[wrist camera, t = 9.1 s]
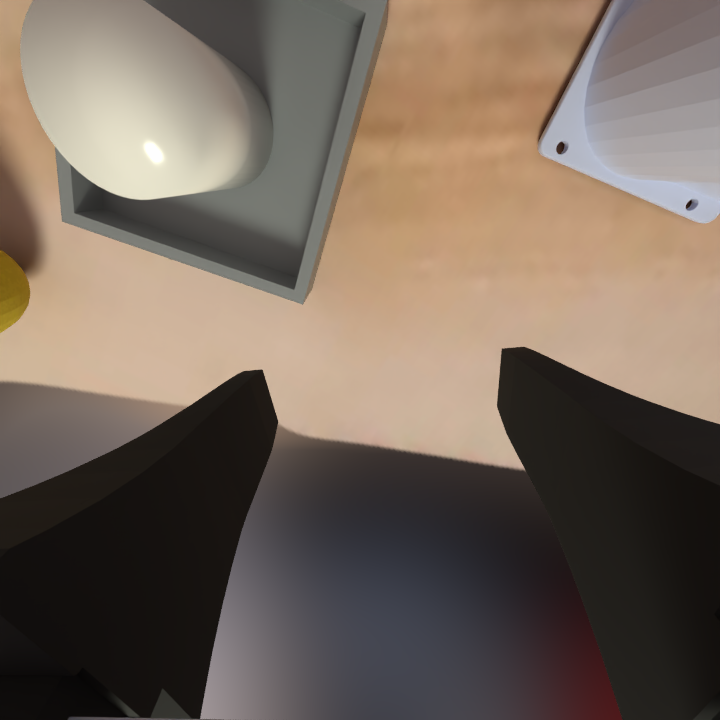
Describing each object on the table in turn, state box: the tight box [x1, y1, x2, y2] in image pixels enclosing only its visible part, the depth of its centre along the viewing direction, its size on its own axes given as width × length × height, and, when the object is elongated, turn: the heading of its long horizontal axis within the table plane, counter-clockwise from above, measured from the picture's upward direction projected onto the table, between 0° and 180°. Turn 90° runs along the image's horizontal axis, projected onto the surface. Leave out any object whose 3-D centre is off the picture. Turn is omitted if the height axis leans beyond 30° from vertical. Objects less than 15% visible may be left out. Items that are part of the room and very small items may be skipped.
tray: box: [55, 0, 388, 304], centre depth 15 cm, size 12×12×2 cm
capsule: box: [20, 0, 273, 200], centre depth 13 cm, size 5×5×7 cm
